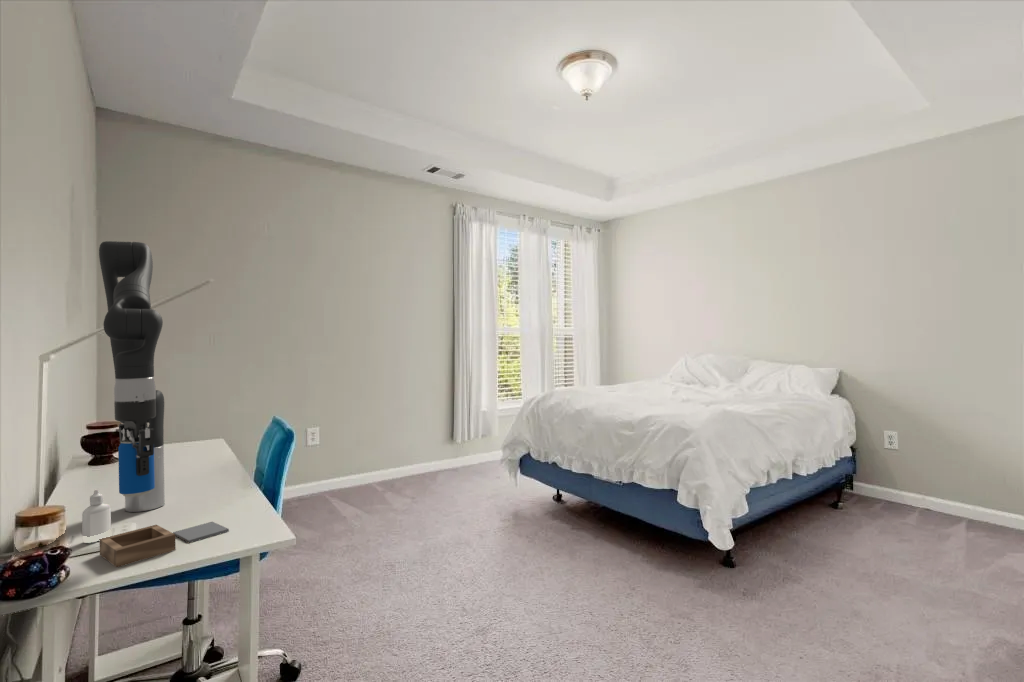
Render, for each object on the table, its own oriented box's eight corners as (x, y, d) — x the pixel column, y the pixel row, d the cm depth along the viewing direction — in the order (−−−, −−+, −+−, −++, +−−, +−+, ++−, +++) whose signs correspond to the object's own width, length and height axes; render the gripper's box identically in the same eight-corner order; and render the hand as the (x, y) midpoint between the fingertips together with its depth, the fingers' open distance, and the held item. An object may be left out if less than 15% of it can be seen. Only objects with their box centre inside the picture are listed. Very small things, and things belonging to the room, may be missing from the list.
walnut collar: (99, 554, 115) (99, 539, 115) (156, 539, 124) (156, 524, 124) (116, 567, 109) (116, 550, 109) (175, 549, 118) (175, 534, 118)
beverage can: (149, 487, 121) (148, 435, 121) (158, 492, 117) (158, 439, 117) (115, 494, 116) (114, 440, 116) (124, 499, 112) (123, 444, 112)
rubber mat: (173, 534, 127) (173, 532, 127) (212, 523, 134) (212, 521, 134) (188, 542, 122) (188, 540, 122) (228, 531, 129) (228, 528, 129)
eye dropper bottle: (113, 538, 125) (113, 488, 125) (84, 545, 121) (83, 494, 121) (109, 534, 128) (108, 485, 128) (80, 541, 124) (79, 490, 124)
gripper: (104, 397, 118) (105, 471, 118) (126, 402, 109) (128, 481, 109) (143, 394, 124) (144, 464, 124) (167, 398, 115) (168, 473, 115)
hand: (136, 472), depth 117 cm, fingers closed on beverage can, 6 cm apart
